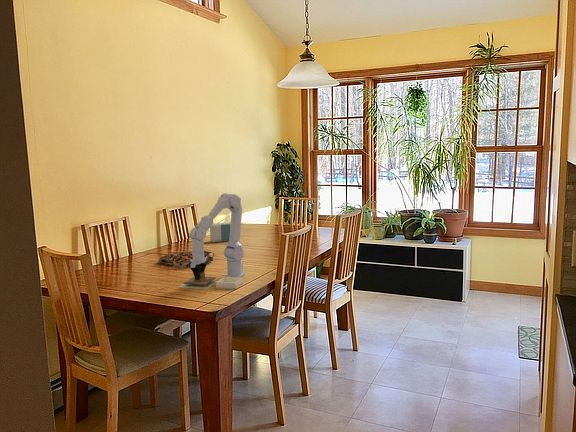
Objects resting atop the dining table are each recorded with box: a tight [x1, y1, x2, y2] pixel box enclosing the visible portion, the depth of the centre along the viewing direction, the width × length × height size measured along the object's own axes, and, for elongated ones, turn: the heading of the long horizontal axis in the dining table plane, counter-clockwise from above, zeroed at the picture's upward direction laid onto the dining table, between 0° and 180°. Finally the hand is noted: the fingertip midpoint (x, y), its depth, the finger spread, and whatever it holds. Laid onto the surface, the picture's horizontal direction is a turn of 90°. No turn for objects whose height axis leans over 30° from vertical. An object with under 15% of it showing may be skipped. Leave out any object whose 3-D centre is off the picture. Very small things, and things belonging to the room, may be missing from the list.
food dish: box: [158, 249, 215, 269], centre depth 293 cm, size 35×33×8 cm
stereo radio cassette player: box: [209, 214, 231, 243], centre depth 359 cm, size 21×8×20 cm, turn 113°
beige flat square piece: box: [178, 279, 218, 290], centre depth 243 cm, size 14×15×1 cm
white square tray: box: [215, 276, 243, 290], centre depth 239 cm, size 10×10×3 cm
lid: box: [183, 271, 217, 285], centre depth 242 cm, size 12×12×4 cm
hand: (199, 278), depth 242 cm, fingers closed on lid, 4 cm apart
